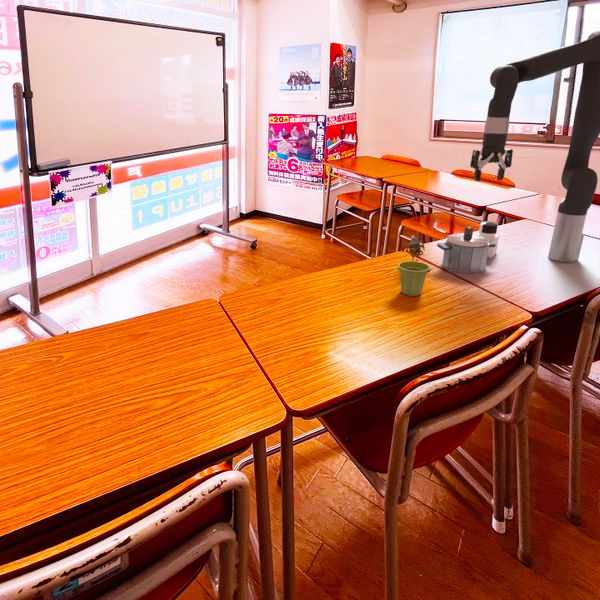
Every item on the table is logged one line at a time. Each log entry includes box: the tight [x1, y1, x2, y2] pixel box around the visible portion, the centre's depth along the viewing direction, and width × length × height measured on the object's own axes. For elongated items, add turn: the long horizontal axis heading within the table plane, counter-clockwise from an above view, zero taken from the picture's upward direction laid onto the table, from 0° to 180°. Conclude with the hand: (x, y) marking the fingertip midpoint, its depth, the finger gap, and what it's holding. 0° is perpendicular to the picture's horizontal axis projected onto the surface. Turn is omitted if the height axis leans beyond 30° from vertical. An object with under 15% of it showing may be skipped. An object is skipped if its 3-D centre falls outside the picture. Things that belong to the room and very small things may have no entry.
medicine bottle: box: [477, 221, 500, 259], centre depth 188 cm, size 7×7×12 cm
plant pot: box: [397, 260, 431, 297], centre depth 154 cm, size 9×9×9 cm
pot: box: [436, 237, 496, 275], centre depth 176 cm, size 19×14×9 cm
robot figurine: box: [404, 235, 431, 273], centre depth 172 cm, size 11×9×12 cm
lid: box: [446, 226, 488, 248], centre depth 173 cm, size 14×14×5 cm
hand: (488, 180), depth 176 cm, fingers open, 8 cm apart
